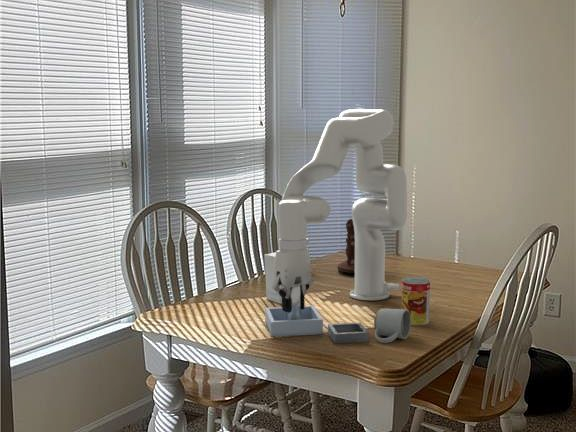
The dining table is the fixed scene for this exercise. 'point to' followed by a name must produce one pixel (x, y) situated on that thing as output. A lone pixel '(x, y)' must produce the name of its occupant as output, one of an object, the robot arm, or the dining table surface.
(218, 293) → the dining table surface
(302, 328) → the bin
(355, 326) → the socket collar
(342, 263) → the brown carved statue
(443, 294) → the dining table surface
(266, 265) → the skincare box
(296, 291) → the black capped silver cylinder
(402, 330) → the ceramic mug
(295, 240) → the robot arm
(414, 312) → the canned food
